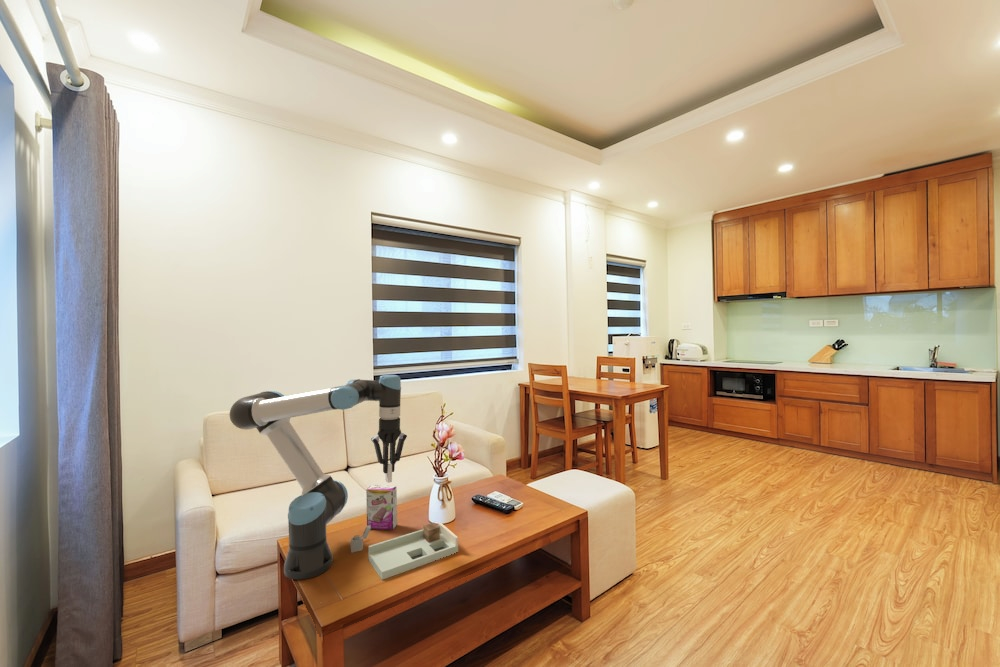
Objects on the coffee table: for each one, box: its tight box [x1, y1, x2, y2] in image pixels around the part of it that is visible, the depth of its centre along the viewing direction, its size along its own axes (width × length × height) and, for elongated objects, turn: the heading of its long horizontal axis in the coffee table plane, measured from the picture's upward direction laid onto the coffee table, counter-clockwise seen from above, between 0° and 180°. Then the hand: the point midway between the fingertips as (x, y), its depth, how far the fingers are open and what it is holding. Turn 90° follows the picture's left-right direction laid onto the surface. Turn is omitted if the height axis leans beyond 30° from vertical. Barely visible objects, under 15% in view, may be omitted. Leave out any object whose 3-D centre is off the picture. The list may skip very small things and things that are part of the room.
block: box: [422, 522, 440, 543], centre depth 157 cm, size 4×4×4 cm
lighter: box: [349, 525, 372, 554], centre depth 155 cm, size 7×2×8 cm, turn 117°
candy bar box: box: [366, 484, 398, 531], centre depth 171 cm, size 11×5×16 cm, turn 84°
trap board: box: [367, 522, 459, 581], centre depth 150 cm, size 28×14×6 cm, turn 124°
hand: (388, 481), depth 155 cm, fingers closed
